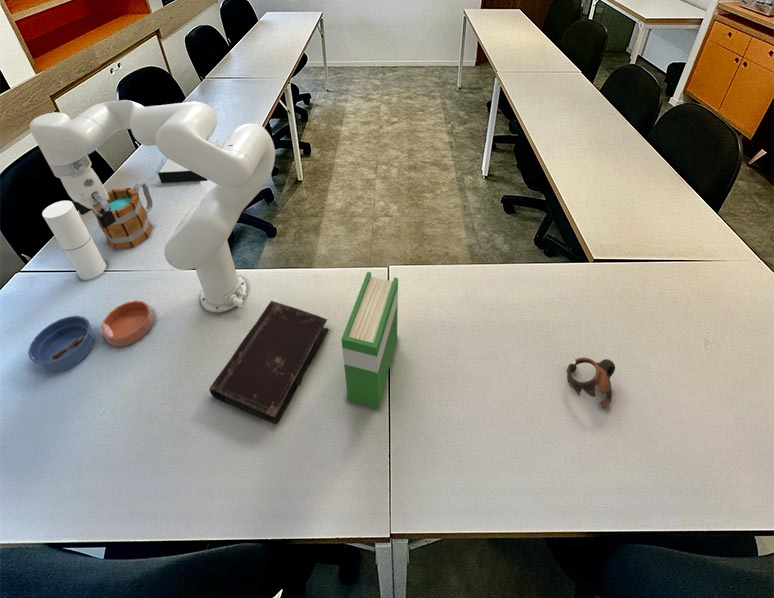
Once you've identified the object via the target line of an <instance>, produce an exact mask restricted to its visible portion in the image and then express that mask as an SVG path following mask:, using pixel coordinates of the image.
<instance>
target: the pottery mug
mask: <svg viewBox="0 0 774 598" xmlns="http://www.w3.org/2000/svg"><path fill="white" fill-rule="evenodd" d="M574 361H575V363H569V364H568V366H567V369H566V373H567V374H566V380H567V383H568V385H569V387H570V388H572V389H573V390H574V391H575V392H576V394H577V395H578V396H580V395H581V392H582V391H584V392H585V394H586V395H588V396H590V397H592V398H595V397H596V396H597V395H596V387H598V389H599V392H600V393H601V394H603V395H606V398H605V399H603V400H602V401H601V402H600V405H601V407H602V409H606V408H608V407H609V405H610V404H611V402H612V398H613V395H612V383H611V377H612V376H613V375H614V373H615V371H616V366H615V365H616V364H615V363H614V361H612V360H611V359H607V358H605V359H603V360H601V361H599V362H596V361H595V360H593V359H591V358H588V357H578V358H575V360H574ZM580 364H590V365H592V366H593V367H594V368H595V369H594V370H595V374H594V376H593V378H592V379H590V380H588V381H578V380H576V379H575V378H574V377H573V375H572V374H574V373H575V372H576V371H577V369H578V367H577V366H578V365H580Z"/></svg>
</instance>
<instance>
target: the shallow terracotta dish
mask: <svg viewBox="0 0 774 598" xmlns="http://www.w3.org/2000/svg"><path fill="white" fill-rule="evenodd" d="M154 318H155V317H154V314H153V311H152V309H151V307H150V306H149V304H147V303H146V302H144V301H143V300H142V301H141V300H132V301H127V302H124V303H123V304H120V305H118V306H117V307H115V308H114V309H113V310H112V311H110V312H109V313H108V314H107V315H106V317H105V318H104V319H103V322H102V325H101V327H100V329H101V334H102V336H103V338H104V339H105V340H106V342H108V344H110V345H111V346H114V347H124V346H129V345H132V344H133V343H136V342H137V341H139V340H140V339H142V338H143V337H144V336H145V335H146V334H147V333H148V332H149V331H150V329H151V328H152V326H153V323H154Z"/></svg>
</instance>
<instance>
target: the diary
mask: <svg viewBox="0 0 774 598" xmlns="http://www.w3.org/2000/svg"><path fill="white" fill-rule="evenodd" d="M327 322H328V318H325V317H322V316H321V315H316V314H315V313H314V314H313V313H311V312H308V311H305V310H302V309H300V308H297V307H293V306H290V305H287V304H284V303H279V302H277V301H274V300H270V302H269V303H268V305H267V306H266V308H265V309H264V311H262V313H261V315H260V316H259V318H258V320H257V321H256V322H255V324H254V325H253V326H252V328H251V329H250V330H249V332H248V333H247V334H246V336H245V337H244V339H243V340H242V341H241V343H239V345H238V346H237V349H236V350H235V351H234V353H233V355H232V356H231V358H230V359H229V361H228V362H227V363H226V365H225V366H224V367H223V369H222V370H221V371H220V373H219V375H218V376H217V377H216V378H215V380H214V381H213V382H212V383H211V385H210V387H209V393H210V395H211V396H212V398H213V399H214V400H218V401H220V402H222V403H225V404H226V405H229V406H231V407H233V408H236V409H238V410H240V411H242V412H245V413H247V414H249V415H251V416H254V417H256V418H258V419H260V420H262V421H265V422H268V423H271V424H273V425H278V424H279V422H280V421H281V420H282V417H283V415H284V413H285V412H286V410H287V408H288V406H289V404H290V403H291V401H292V399H293V398H294V395H295V394H296V391H297V389H298V388H299V386H301V384H302V381H303V378H304V376H305V374H306V372H307V371H308V369H309V367H310V366H311V364H312V362H313V360H314V358H316V357H315V356H316V355H317V353H318V351H319V350H320V348H321V346H322V344H323V342H324V340H325V338H326V336H327V334H328V332H329V331H330V330H329V328H327V327H325V325H326V323H327Z"/></svg>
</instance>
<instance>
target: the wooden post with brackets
mask: <svg viewBox="0 0 774 598" xmlns="http://www.w3.org/2000/svg"><path fill="white" fill-rule="evenodd" d="M84 338H85V334H82V335H81V338H78V339H77V338H76V339H75V340H74V341H72V342H71V343H70V345H69V346H68V347H66V348H65V349H64V350H62V351H60V352H59V353H57V354H55V355H51V357H50V358H51V359H52V360H56V359H58V358H59V357H60V356H62V355H63V354H64V353H65V352H68V351H69V350H71V349H72V348H74V347H75V346H76V345H77V344H79V343H81V342H82V341H83V340H84Z"/></svg>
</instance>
